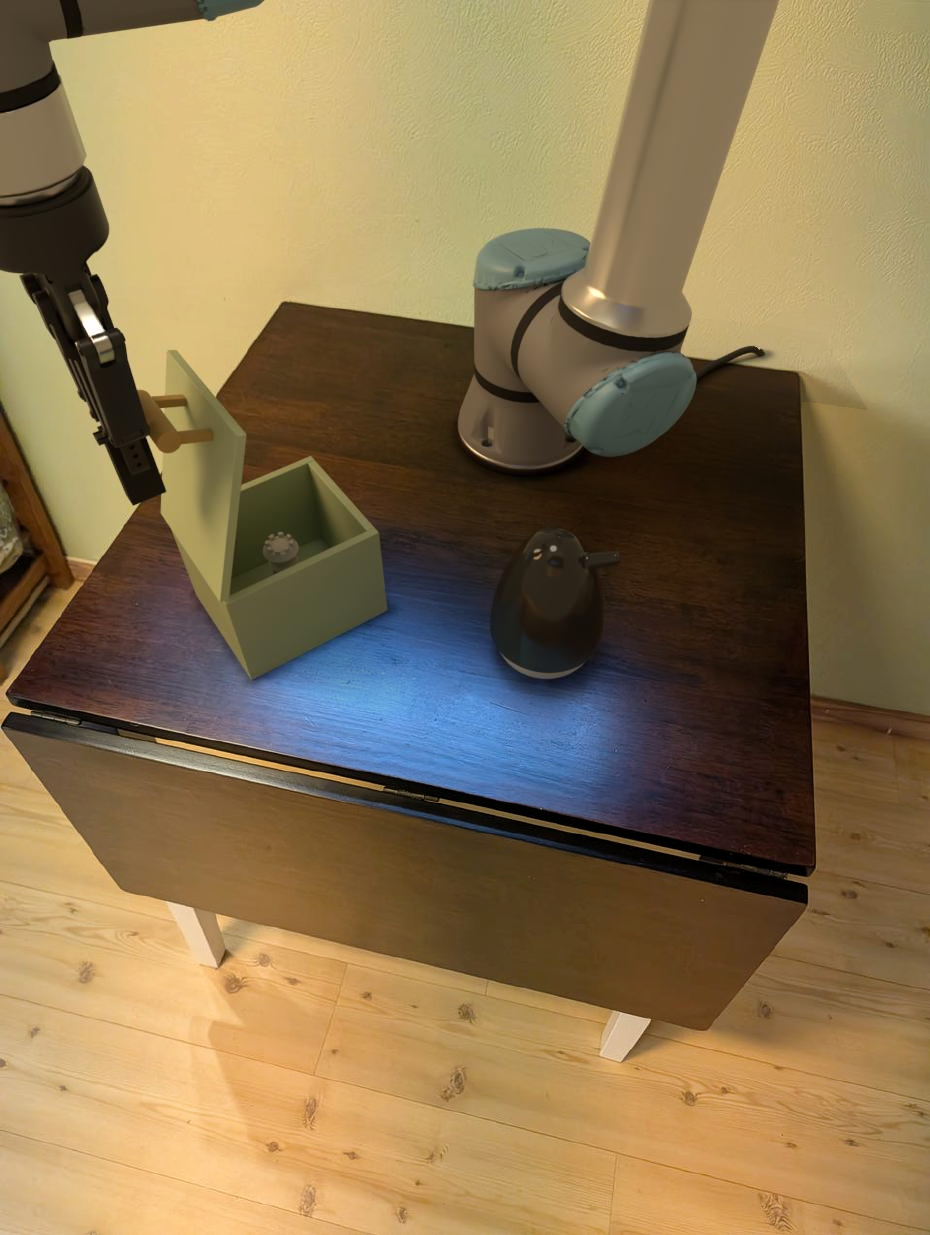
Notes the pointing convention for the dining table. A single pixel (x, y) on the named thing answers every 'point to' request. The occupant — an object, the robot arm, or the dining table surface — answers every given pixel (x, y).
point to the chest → (295, 569)
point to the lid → (198, 469)
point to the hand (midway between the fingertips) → (146, 493)
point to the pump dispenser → (550, 604)
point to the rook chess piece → (281, 552)
